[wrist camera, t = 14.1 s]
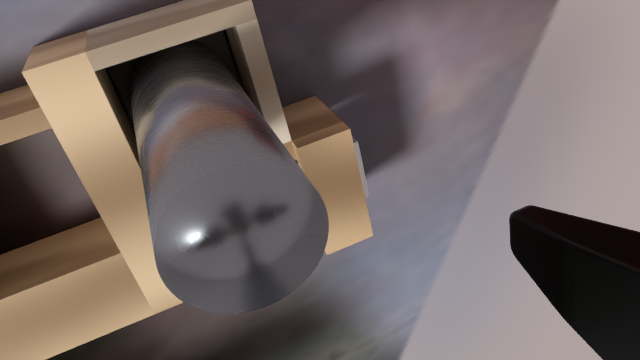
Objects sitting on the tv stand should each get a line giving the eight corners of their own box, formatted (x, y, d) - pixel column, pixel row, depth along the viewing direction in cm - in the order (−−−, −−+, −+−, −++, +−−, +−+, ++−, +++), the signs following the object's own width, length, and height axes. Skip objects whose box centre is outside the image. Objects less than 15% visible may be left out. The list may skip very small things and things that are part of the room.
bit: (241, 114, 21) (343, 273, 12) (151, 146, 20) (192, 338, 12) (211, 24, 19) (308, 136, 10) (111, 56, 18) (124, 205, 10)
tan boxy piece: (269, 111, 21) (291, 140, 19) (145, 156, 21) (151, 192, 18) (231, -15, 19) (251, -1, 16) (87, 30, 18) (85, 52, 15)
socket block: (339, 192, 24) (373, 235, 21) (12, 322, 22) (-3, 393, 19) (284, -31, 19) (319, -17, 16) (-154, 104, 17) (-213, 152, 13)
